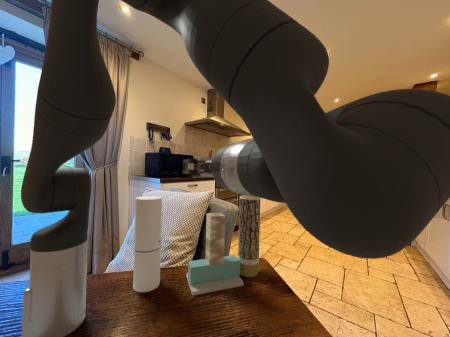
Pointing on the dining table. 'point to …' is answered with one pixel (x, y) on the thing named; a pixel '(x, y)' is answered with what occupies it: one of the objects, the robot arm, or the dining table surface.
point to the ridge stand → (213, 275)
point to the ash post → (215, 238)
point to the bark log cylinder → (249, 235)
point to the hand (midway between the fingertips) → (213, 167)
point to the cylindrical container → (147, 243)
